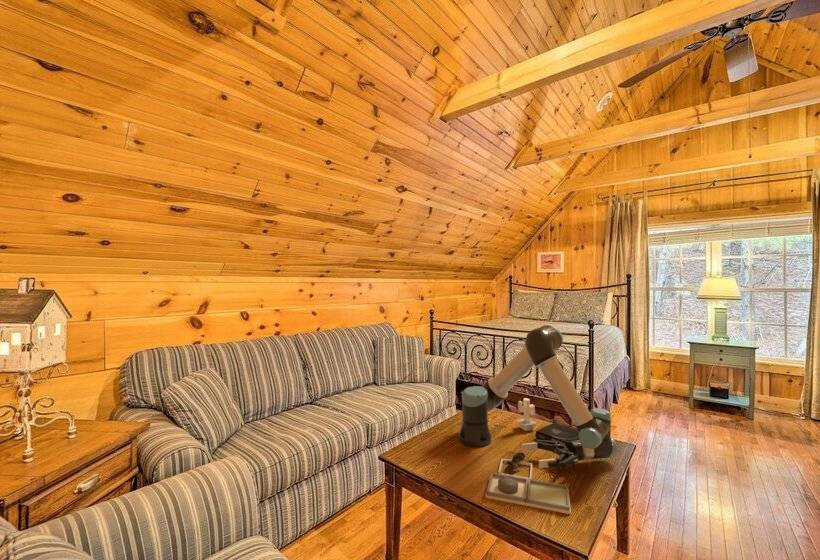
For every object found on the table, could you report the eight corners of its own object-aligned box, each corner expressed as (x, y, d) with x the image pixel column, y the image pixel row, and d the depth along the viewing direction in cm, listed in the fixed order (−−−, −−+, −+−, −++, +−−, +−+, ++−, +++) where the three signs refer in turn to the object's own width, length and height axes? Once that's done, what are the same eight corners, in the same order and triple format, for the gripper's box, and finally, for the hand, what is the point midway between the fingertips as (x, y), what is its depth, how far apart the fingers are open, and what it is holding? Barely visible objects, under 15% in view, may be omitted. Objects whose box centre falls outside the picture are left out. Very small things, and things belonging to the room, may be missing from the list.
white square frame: (497, 475, 147) (497, 473, 147) (501, 460, 158) (501, 458, 158) (531, 481, 143) (531, 479, 143) (532, 465, 154) (532, 463, 154)
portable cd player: (535, 439, 179) (535, 431, 178) (555, 429, 189) (555, 421, 189) (568, 452, 166) (568, 443, 165) (588, 441, 176) (588, 432, 176)
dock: (485, 497, 133) (485, 489, 133) (490, 477, 145) (490, 470, 145) (570, 514, 124) (570, 505, 124) (568, 491, 136) (568, 483, 136)
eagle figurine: (525, 475, 145) (529, 460, 153) (514, 459, 146) (519, 445, 154) (509, 480, 149) (513, 465, 157) (498, 465, 149) (503, 451, 157)
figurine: (539, 429, 188) (539, 399, 187) (524, 433, 184) (524, 402, 184) (528, 424, 194) (528, 395, 194) (514, 427, 191) (514, 398, 190)
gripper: (599, 475, 142) (547, 482, 139) (561, 445, 167) (516, 450, 163) (599, 456, 142) (547, 461, 138) (561, 428, 167) (516, 432, 163)
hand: (530, 455), depth 151 cm, fingers open, 13 cm apart
